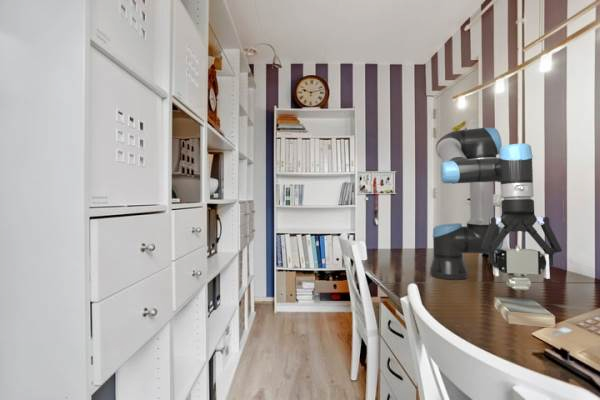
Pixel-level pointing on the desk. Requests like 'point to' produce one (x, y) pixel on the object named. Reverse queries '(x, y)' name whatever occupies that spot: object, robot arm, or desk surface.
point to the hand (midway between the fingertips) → (520, 276)
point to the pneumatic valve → (519, 265)
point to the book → (523, 312)
